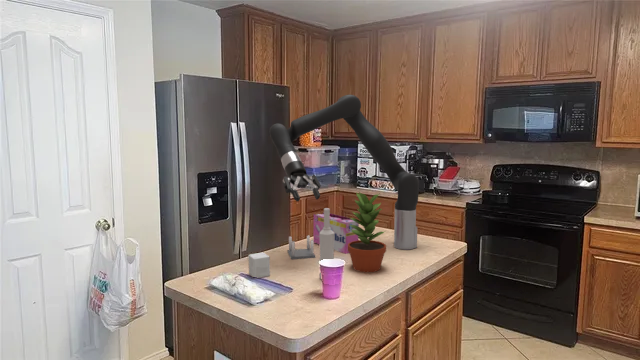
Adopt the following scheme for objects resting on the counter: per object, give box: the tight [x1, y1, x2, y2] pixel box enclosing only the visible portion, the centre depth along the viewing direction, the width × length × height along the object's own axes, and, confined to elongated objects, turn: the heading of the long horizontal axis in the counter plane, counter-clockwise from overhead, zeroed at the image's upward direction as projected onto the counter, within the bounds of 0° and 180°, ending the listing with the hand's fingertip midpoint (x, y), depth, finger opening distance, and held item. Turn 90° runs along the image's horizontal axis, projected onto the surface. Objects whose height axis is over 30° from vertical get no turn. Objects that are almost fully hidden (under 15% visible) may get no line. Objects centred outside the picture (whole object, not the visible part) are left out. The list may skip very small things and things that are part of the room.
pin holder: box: [286, 234, 316, 260], centre depth 174 cm, size 10×10×7 cm
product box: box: [248, 252, 271, 279], centre depth 151 cm, size 6×6×7 cm
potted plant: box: [348, 191, 387, 273], centre depth 157 cm, size 15×15×30 cm
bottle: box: [319, 207, 335, 280], centre depth 146 cm, size 5×5×25 cm
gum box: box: [313, 211, 360, 254], centre depth 187 cm, size 24×8×14 cm, turn 39°
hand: (308, 199), depth 155 cm, fingers open, 8 cm apart
